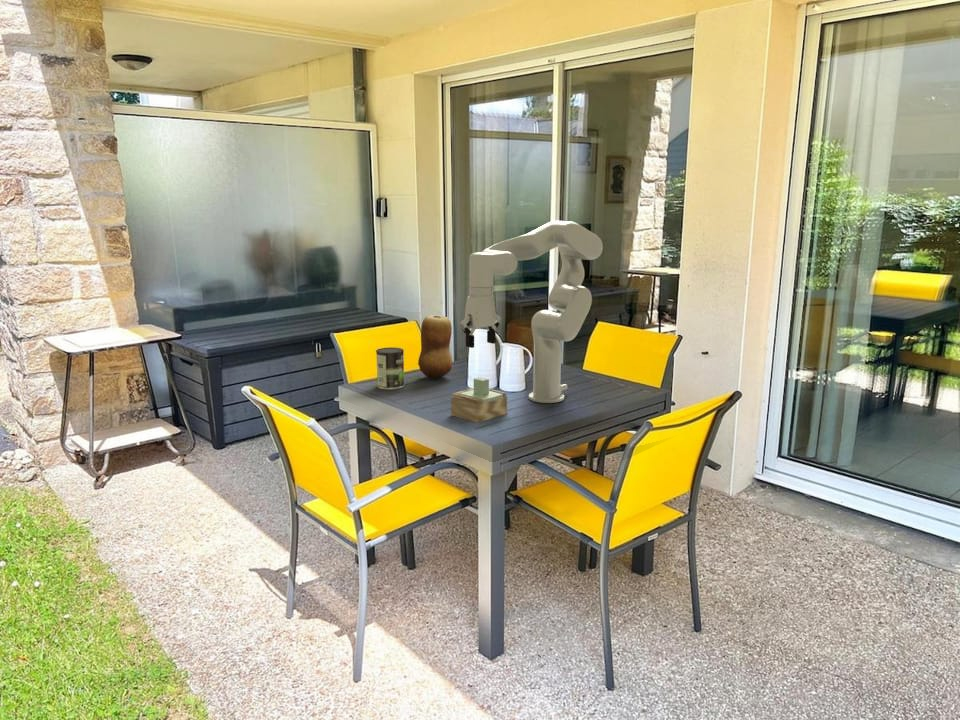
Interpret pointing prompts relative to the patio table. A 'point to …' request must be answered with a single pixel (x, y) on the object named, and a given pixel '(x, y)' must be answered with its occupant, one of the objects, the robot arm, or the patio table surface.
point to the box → (477, 407)
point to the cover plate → (483, 398)
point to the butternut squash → (435, 347)
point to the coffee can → (390, 368)
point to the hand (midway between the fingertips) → (480, 345)
